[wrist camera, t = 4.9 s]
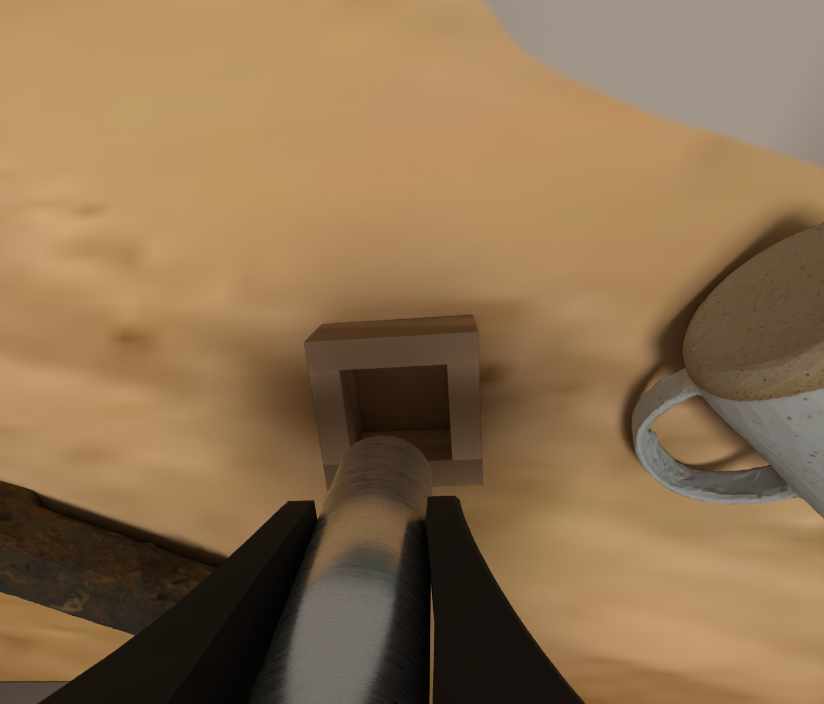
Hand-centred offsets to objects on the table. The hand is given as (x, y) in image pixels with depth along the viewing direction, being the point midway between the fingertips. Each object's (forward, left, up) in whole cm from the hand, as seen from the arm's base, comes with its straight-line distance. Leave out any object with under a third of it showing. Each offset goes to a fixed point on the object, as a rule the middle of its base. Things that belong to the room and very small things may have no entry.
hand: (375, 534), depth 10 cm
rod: (0, 0, -2) cm, 2 cm away
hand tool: (-8, +15, -9) cm, 19 cm away
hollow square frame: (0, 0, -8) cm, 8 cm away
